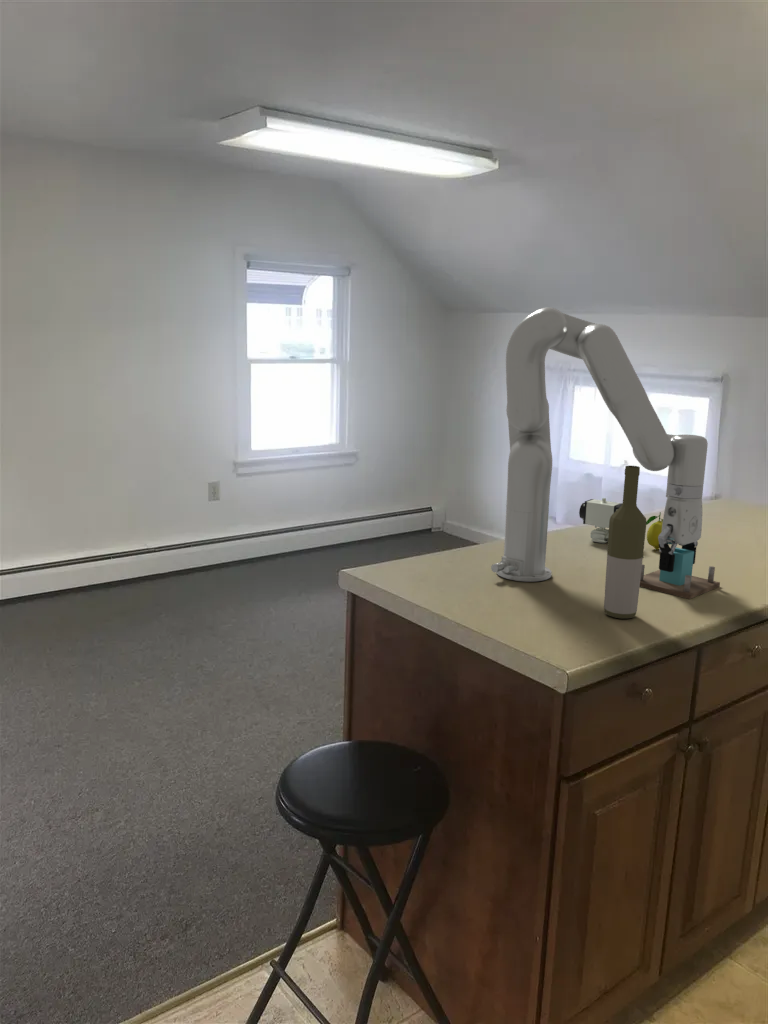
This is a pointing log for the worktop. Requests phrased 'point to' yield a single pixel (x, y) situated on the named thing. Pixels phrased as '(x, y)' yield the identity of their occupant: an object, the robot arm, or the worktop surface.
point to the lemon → (654, 531)
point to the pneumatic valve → (598, 517)
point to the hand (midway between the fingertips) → (676, 566)
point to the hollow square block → (679, 567)
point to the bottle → (625, 552)
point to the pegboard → (687, 590)
